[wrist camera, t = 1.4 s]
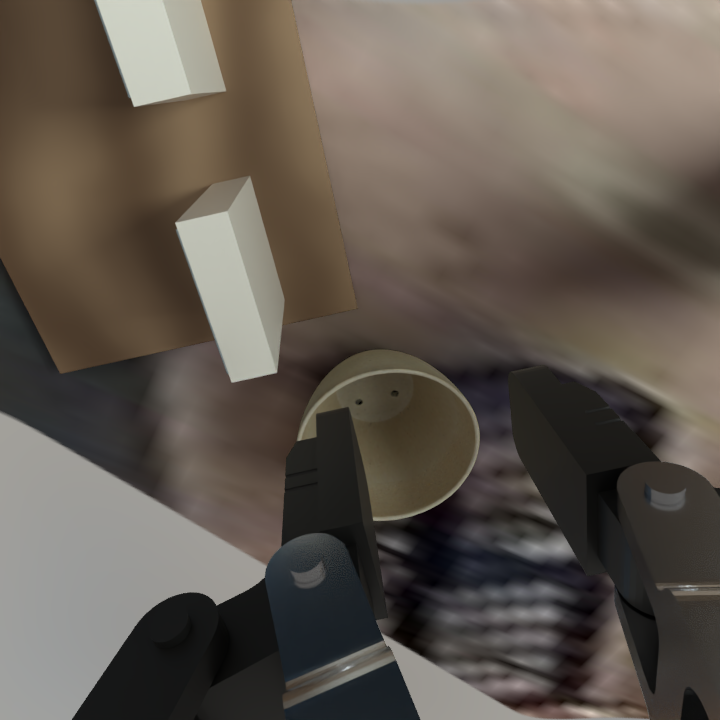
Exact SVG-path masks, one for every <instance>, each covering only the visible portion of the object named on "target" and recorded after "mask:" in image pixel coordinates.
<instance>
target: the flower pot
mask: <svg viewBox="0 0 720 720" xmlns="http://www.w3.org/2000/svg"><path fill="white" fill-rule="evenodd" d="M393 391H397V392H393ZM360 401H362V403H361V404H358V403H359V402H360ZM345 407H349V409H350V412H351V416H352V420H353V424H354V428H355V432H356V436H357V440H358V445H359V449H360V453H361V457H362V461H363V465H364V469H365V474H366V479H367V484H368V490H369V496H370V503H371V509H372V516H373V521H387V520H396V519H402V518H406V517H410V516H413V515H417V514H420V513H422V512H424V511H427V510H429V509H431V508H433V507H435V506H437V505H438V504H440V503H441V502H443V501H444V500H446V499H447V498H448V497H449V496H451V495H452V494H453V493H454V492H455V491H456V490H457V489H458V488H459V487H460V486H461V485H462V483H463V482H464V481H465V479H466V478H467V476H468V475H469V473H470V472H471V470H472V468H473V466H474V463H475V461H476V458H477V455H478V449H479V442H480V436H479V426H478V422H477V418H476V416H475V413H474V411H473V409H472V407H471V406H470V404H469V402H468V401H467V400H466V398H465V397H464V396H463V394H462V393H461V392H460V391H459V390H458V388H457V387H456V386H455V385H454V384H453V383H452V382H451V381H450V380H449V379H448V378H446V377H445V376H444V375H443V374H442V373H440V372H439V371H438V370H437V369H435V368H434V367H432V366H431V365H429V364H428V363H426V362H424V361H422V360H420V359H418V358H416V357H414V356H412V355H409V354H406V353H403V352H399V351H393V350H384V349H377V350H369V351H364V352H361V353H358V354H355V355H353V356H351V357H349V358H347V359H346V360H344V361H343V362H341V363H340V364H338V365H337V366H336V367H335V368H334V369H332V370H331V371H330V372H329V373H328V374H327V375H326V376H325V378H324V379H323V380H322V381H321V383H320V384H319V385H318V387H317V388H316V390H315V391H314V393H313V395H312V397H311V398H310V400H309V402H308V405H307V407H306V409H305V411H304V414H303V417H302V420H301V423H300V426H299V431H298V436H297V441H300V440H305V439H310V438H314V437H316V414H317V413H322V412H326V411H331V410H336V409H340V408H345Z"/></svg>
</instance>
